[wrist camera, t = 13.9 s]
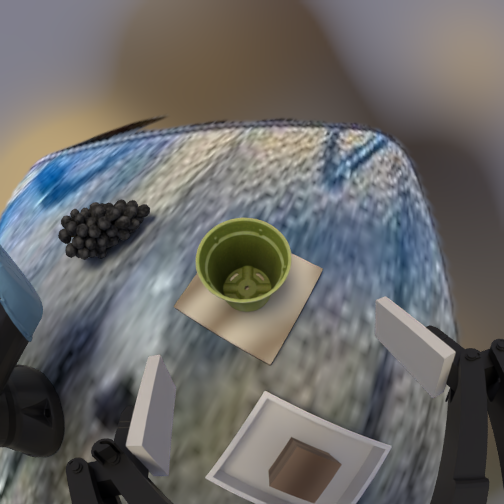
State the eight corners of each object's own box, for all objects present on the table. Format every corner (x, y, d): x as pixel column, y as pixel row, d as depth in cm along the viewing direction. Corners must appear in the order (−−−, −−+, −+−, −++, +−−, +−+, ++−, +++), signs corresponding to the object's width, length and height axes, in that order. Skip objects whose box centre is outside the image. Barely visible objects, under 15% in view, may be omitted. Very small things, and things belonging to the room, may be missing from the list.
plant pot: (246, 242, 38) (241, 202, 30) (300, 286, 35) (310, 253, 27) (195, 290, 35) (177, 259, 27) (249, 340, 32) (244, 323, 24)
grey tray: (212, 467, 25) (205, 477, 21) (264, 390, 30) (264, 390, 26) (326, 516, 21) (334, 530, 17) (377, 441, 25) (392, 446, 21)
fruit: (133, 169, 35) (47, 213, 32) (150, 220, 34) (57, 264, 31) (147, 194, 44) (72, 229, 41) (162, 238, 42) (83, 273, 40)
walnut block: (268, 470, 24) (269, 486, 19) (291, 436, 26) (297, 446, 21) (305, 486, 23) (314, 503, 17) (328, 452, 25) (341, 464, 19)
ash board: (175, 308, 35) (173, 306, 34) (233, 228, 40) (232, 224, 40) (270, 365, 31) (270, 364, 30) (321, 272, 37) (322, 268, 36)
